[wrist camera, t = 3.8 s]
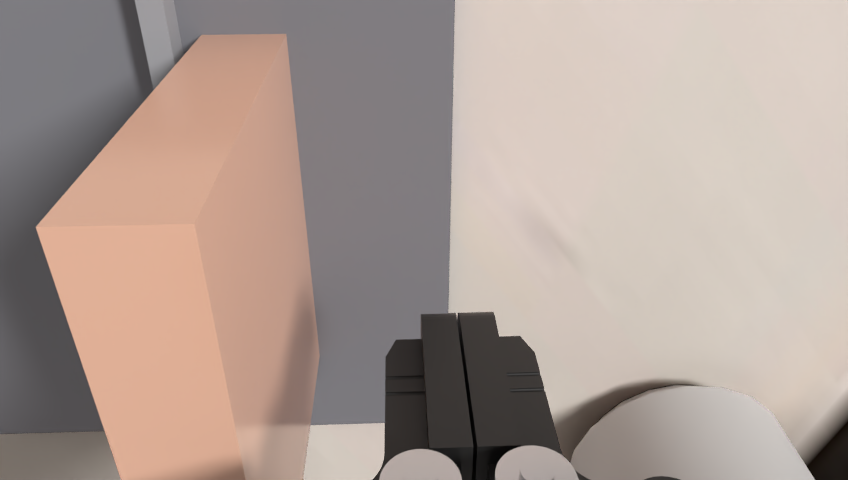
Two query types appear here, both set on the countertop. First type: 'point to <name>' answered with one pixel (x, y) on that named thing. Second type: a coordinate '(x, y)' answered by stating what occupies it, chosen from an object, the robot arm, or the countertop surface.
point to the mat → (319, 164)
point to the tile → (196, 272)
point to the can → (689, 439)
